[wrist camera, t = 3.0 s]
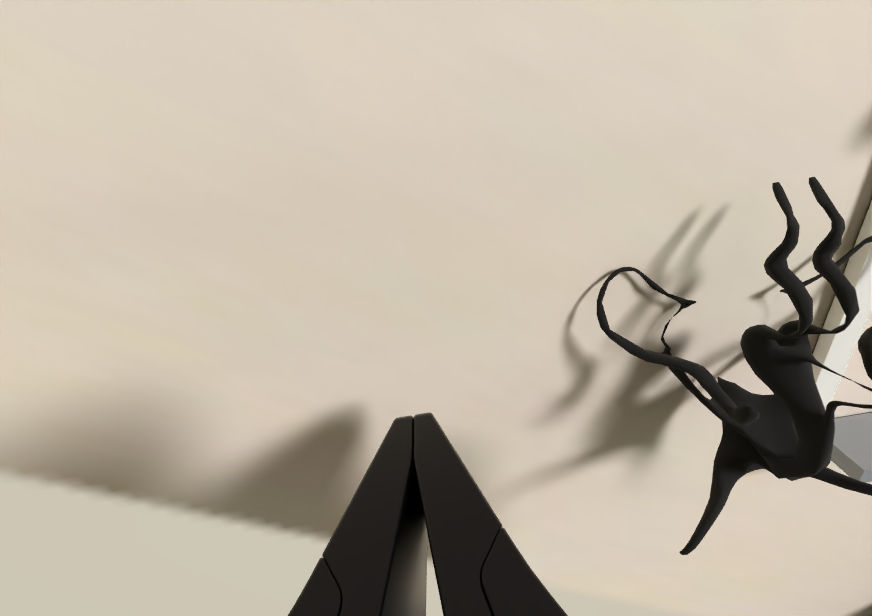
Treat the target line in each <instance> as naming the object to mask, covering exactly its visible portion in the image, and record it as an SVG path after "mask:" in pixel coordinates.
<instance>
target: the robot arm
mask: <svg viewBox="0 0 872 616" xmlns="http://www.w3.org/2000/svg"><path fill="white" fill-rule="evenodd" d="M427 533H428V538H429V543H430V548H431V554H432V559H433V564H434V569H435V574H436V579H437V584H438V589H439V595H440V600H441V605H442V610H443V615H444V616H568V615H567V614H566V613H565V612H564V611H563V609H562V608H561V607H560V606H559V604H558V603H557V602H556V601H555V599H554V598H553V597H552V596H551V595H550V593H549V592H548V591H547V589H546V588H545V587H544V585H543V584H542V583H541V581H540V580H539V579H538V578H537V576H536V575H535V574H534V572H533V571H532V570H531V568H530V567H529V565H528V564H527V562H526V561H525V559H524V558H523V556H522V555H521V553H520V552H519V550H518V549H517V548H516V546H515V545H514V543H513V541H512V540H511V538H510V537H509V535H508V533H507V532H506V530H505V529H504V528H502V524H501V523H500V521H499V519H498V518H497V516H496V515H495V513H494V511H493V510H492V508H491V507H490V505H489V504H488V502H487V500H486V499H485V497H484V496H483V494H482V492H481V491H480V489H479V488H478V486H477V484H476V483H475V481H474V480H473V478H472V476H471V475H470V473H469V472H468V470H467V468H466V467H465V465H464V464H463V462H462V460H461V459H460V457H459V456H458V454H457V452H456V451H455V449H454V448H453V446H452V444H451V443H450V441H449V440H448V438H447V436H446V435H445V433H444V432H443V430H442V429H441V427H440V425H439V424H438V422H437V421H436V419H435V417H434V416H433V414H432V413H423V414H417V415H415V416H414V418H413V417H412V416H405V417H399V418H396V419H395V420H394V421H393V423H392V425H391V427H390V429H389V431H388V433H387V435H386V436H385V438H384V440H383V442H382V444H381V446H380V448H379V450H378V451H377V453H376V455H375V457H374V459H373V461H372V463H371V464H370V466H369V468H368V470H367V472H366V474H365V476H364V478H363V479H362V481H361V483H360V485H359V487H358V489H357V491H356V493H355V494H354V496H353V498H352V500H351V502H350V504H349V506H348V507H347V509H346V511H345V513H344V515H343V517H342V519H341V521H340V522H339V524H338V526H337V528H336V530H335V532H334V534H333V536H332V537H331V539H330V541H329V543H328V545H327V547H326V549H325V551H324V552H323V558H320V560H319V561H318V563H317V565H316V567H315V569H314V571H313V573H312V575H311V576H310V578H309V580H308V582H307V584H306V585H305V587H304V589H303V591H302V593H301V594H300V596H299V598H298V600H297V601H296V603H295V605H294V606H293V608H292V610H291V611H290V613H289V614H288V616H426V575H427V571H426V570H427Z"/></svg>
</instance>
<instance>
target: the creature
mask: <svg viewBox="0 0 872 616" xmlns="http://www.w3.org/2000/svg"><path fill="white" fill-rule="evenodd" d="M809 184H810V187H811V189H812V192H813V194H814V196H815V198H816V200H817V202H818V203H819V204H820V205H821V206H822V207H823V209H824V210H825V211H826V213H827V214H828V216H829V218H830V219H831V221H832V229H831V231H830V232H829V234H828V235H827V237H826V238H825V239H824V240H823V241H822V242H821V243H820V244H819V246H818V247H817V248H816V250H815V251H814V254H813V259H812V261H813V265H814V268H815V270H816V271H817V272H819V273H820V274H819V275H817V276H816V277H813V278H811V279H809V280H807V281H804V282H802V281H801V280H800V279H799V278H798V277H797V276H796V275H795V274H794V273H793V272H792V271H791V270H790V269H789V268H788V265H787V260H786V259H787V257H788V256H789V254H790V253H791V252H792V250H793V249H794V248H795V246H796V245H797V243H798V237H799V224H798V222H797V220H796V218H795V217H794V215H793V211H792V207H791V205H790V203H789V201H788V198H787V196H786V194H785V192H784V190H783V188H782V186H781V185H780V183H779V182H776V183H773V191H774V194H775V197H776V199H777V201H778V203H779V205H780V207H781V208H782V210H783V212H784V213H785V215H786V217H787V232H786V236H785V238H784V240H783V242H782V243H781V244H780V245H779V246H778V247H777V248H776V249H775V250H774V251H773V252H772V253H771V254H770V255H769V257H768V258H767V259H766V261H765V264H764V267H765V270H766V273H767V274H768V275H769V276H770V277H771V278H772V279H773V280H774V281H775V282H777V283H778V284H779V285H780V286H781V287H783V288H784V289H783V290H781V291H780V292H784V293H787V294H788V296H789V297H790V299H791V301H792V303H793V305H794V306H795V308H796V310H797V312H798V314H799V320H796V321H790V322H788V323H786V324H784V325H782V326H781V327H780V329H779V330H778V331H775V330H774V329H772V328H770V327H768V326H766V325H756V326H752V327H750V328H748V329H747V330H745V332H744V334H743V335H742V339H741V347H742V350H743V354H744V357H745V359H746V361H747V362H748V364H749V365H750V367H751V368H752V370H753V371H754V373H755V374H756V375H757V376H758V377H759V378H760V379H761V380H762V381H763V382H764V383H765V384H766V385H767V386H768V387H769V388H770V389H771V390H772V392H773V393H774V395H759V394H753V393H750V392H748V391H746V390H745V389H743V388H741V387H740V386H738V385H737V384H735V383H732V382H728V381H726V380H724V379H722V378H719V377H718V383H717V381H716V380H715V378H714V377H713V375H712V374H711V373H710V372H709V371H708V370H706V369H705V368H704V367H703V366H701V365H699V364H696V363H693V362H690V361H687V360H684V359H681V358H678V357H674V356H672V355H671V353H670V350H671V349H670V347H669V346H668V345H667V344H666V343H665V340H664V337H663V335H664V333H665V331H666V329H667V326H668V324H669V322H670V320H671V319H670V320H669V322H668V323H667V324H666V325H665V328H664V331H663V334H662V337H661V341H662V343H663V344H664V345H665V349H664V351H663V353H662V354H661V353H656V352H651V351H646V350H644V349H642V348H640V347H638V346H637V345H635V344H633V343H632V342H630V341H628V340H627V339H625V338H623V337H622V336H620V335H618V334H617V333H615V332H613V331H612V330H610V328H609V325H608V322H607V318H606V315H605V311H604V308H603V305H602V300H603V297H604V294H605V291H606V288H607V286H608V283H609V281H610V280H612V279H613V278H614V277H615V276H616V275H617V274H619V273H620V272H624V271H635V272H637V273H638V274H640V276H641V277H642V278H643V279H644V280H645V281H646V282H647V283H648V285H649V286H650V287H651V288H652V289H654V290H656V291H658V292H660V293H662V294H664V295H666V296H668V297H670V298H672V299H674V300H676V301H678V302H679V303H680V304H681V306H680V308H679V311H678V312H677V313H676V314H678V313H679V312H680V311H681V310H682V309H683V308H686V307H689V306H690V305H692V304H694V303H696V301H692V300H686V299H683V298H680V297H677V296H674V295H671V294H668V293H667V292H666V291H664V290H663V289H662V288H661V287H659V286H658V285H657V284H656V283H654V282H653V281H652V280H651V279H649V278H648V277H647V276H646V275H644V274H643V273H642V272H640V271H639V270H638V269H636V268H632V267H622V268H619V269H617V270H616V271H614V272H613V273H612V274H611V275H610V276H609V277H608V278H607V280H606V281H605V282H604V284H603V286H602V287H601V289H600V292H599V295H598V299H597V317H598V320H599V324H600V327H601V329H602V330H603V331H604V332H605V333H606V335H607V336H608V337H609V338H610V339H611V340H613V341H614V342H615V343H617V344H618V345H620V346H621V347H622V348H624V349H625V350H626V351H628V352H629V353H630V354H632V355H634V356H636V357H638V358H640V359H642V360H644V361H646V362H651V363H656V364H661V365H665V366H668V367H669V369H670V370H671V371H672V372H673V373H674V375H675V376H676V377H677V378H678V379H679V380H680V381H681V382H682V384H683V385H684V386H685V387H686V388H687V389H688V390H689V391H690V392H691V393H693V394H694V395H695V396H696V397H697V398H698V400H699V401H700V402H701V403H703V404H704V405H705V406H706V407H707V408H708V409H709V410H710V411H711V412H712V413H714V414H715V415H716V416H717V417H718V418H719V419H721V420H722V426H723V435H722V439H721V442H720V445H719V447H718V450H717V453H716V457H715V460H714V467H713V477H712V485H711V493H710V499H709V501H708V504H707V506H706V509H705V511H704V514H703V516H702V518H701V520H700V522H699V524H698V526H697V528H696V530H695V532H694V534H693V535H692V537H691V539H690V540H689V542H688V543H687V545H686V546H685V548H684V549H683V550H682V551H680V554H682V555H687V554H689V553H690V552H691V551H693V550H694V549H695V548H696V547H697V545H698V544H699V543H700V542H701V540H702V539H703V538H704V536H705V535H706V533H707V532H708V530H709V529H710V528H711V526H712V524H713V523H714V521H715V520H716V518H717V517H718V515H719V514H720V512H721V510H722V509H723V507H724V505H725V503H726V501H727V499H728V496H729V494H730V491H731V489H732V488H733V486H734V485H735V483H736V482H737V480H738V479H739V478H741V477H742V476H743V475H745V474H746V473H749V472H751V471H754V470H758V469H767V470H768V471H769V472H771V473H772V474H774V475H775V476H776V477H777V478H779V479H780V478H787V479H789V480H791V481H793V480H797V479H800V478H805V477H812V478H816V479H819V480H822V481H824V482H827V483H830V484H833V485H836V486H839V487H842V488H845V489H848V490H852V491H856V492H860V493H864V494H867V495H871V496H872V485H871V484H868V483H865V482H862V481H859V480H856V479H853V478H851V477H848V476H845V475H843V474H840V473H838V472H835V471H833V470H831V469H829V468H827V466H828V465H829V463H830V460H831V455H832V450H833V442H834V434H835V421H834V411H835V410H836V408H837V406H841V405H844V406H853V407H860V408H872V405H862V404H853V403H847V402H841V401H831V402H829V403H828V404H827V406H826V411H825V407H824V405H823V402H822V399H821V396H820V394H819V391H818V388H817V385H816V383H815V380H814V374H813V368H812V364H814V365H816V366H819V367H821V368H823V369H825V370H828V371H830V372H832V373H834V374H837V375H839V376H842V375H840V374H839V373H837V372H835V371H833V370H831V369H829V368H828V367H826V366H824V365H823V364H821V363H820V362H819V361H817V360H816V359H815V357H814V356H813V355H812V351H811V346H810V343H809V339H808V334H838V333H840V332H842V331H844V330H845V329H846V328H847V327H848V326H849V325H850V324H851V322H852V321H853V319H854V318H855V317H856V315H857V314H858V312H859V311H860V310H859V305H858V299H857V294H856V289H855V288H854V287H853V285H852V284H851V283H850V282H849V280H848V279H847V278H846V276H845V275H844V274H843V273H842V271H841V270H840V269H839V267H838V266H840V265H841V264H843V263H844V262H845V261H847V260H848V259H849V258H850V257H851V256H852V255H853V254H854V253H856V252H857V251H858V250H859V249H860V248H861V247H862V246H863V245H865V244H867V243H870V242H872V236H870V237H868V238H866V239H864V240H863V241H861V242H860V243H859V244H858V245H857V246H855V247H854V248H853V249H852V250H851V251H849V252H848V253H847V254H846V255H844V256H843V257H842V258H841V259H840V260H838V261H837V262H836V263H834V261H833V260H832V256H833V254H834V253H835V252H836V251H837V249H838V248H839V247H840V245H841V241H842V235H843V232H844V230H845V223H844V219H843V218H842V217H841V215H840V214H839V213H838V211H837V210H836V208H835V206H834V205H833V203H832V202H831V200H830V199H829V197H828V195H827V194H826V192H825V191H824V189H823V188H822V186H821V185H820V183H819V182H818V180H817V179H816V178H815V177H811V178H809ZM822 276H823V277H824V278H825V279H826V280H827V281H828V282H829V283H830V284H831V286H832V288H833V290H834V293H835V295H836V297H837V299H838V301H839V303H840V305H841V307H842V309H843V311H844V313H845V315H846V318H845V323H844V324H843V325H841V326H839V327H837V328H835V329H833V330H831V331H830V330H826V329H823V328H819V327H817V326H815V325H812V321H813V300H812V298H811V296H810V295H809V293H808V291H807V290H806V288H805V286H806V285H808V284H810V283H812V282H813V281H815V280H817V279H819V278H820V277H822ZM676 314H675V315H676ZM675 315H674V316H675ZM858 349H859V351H860V353H861V356H862V360H863V363H864V367H865V369H866V372H867V374H868V376H869V377H870V378H871V380H872V327H870V328H868V329H867V330H866V331H865V332H864V333H863V334H862V336H861V337H860V339H859V340H858ZM685 372H686V373H689V374H690V375H691V376H693V377H694V378H695V379H696V380H697V381H698V382H699V383H700V385H701V386H702V387H703V388H704V389H705V390H706V391H707V392H708V393H709V395H710V396H711V397H712V399H711V400H710V399H708V398H706V397H704V396H703V395H702V394H701V392H700V391H699V390H698V389H697V388H696V387H695V386H694V384H693V383H692V382H691V381H690V379H689V378H688V376H687V375H686V373H685ZM842 377H844V376H842ZM844 378H846V377H844ZM846 379H848V378H846ZM849 380H850V379H849ZM851 381H852V380H851ZM855 383H857V382H855ZM857 384H859V383H857ZM859 385H860V386H862V387H863V388H866V389H868V390H870V391H872V389H871V388H869V387H866V386H864V385H861V384H859Z"/></svg>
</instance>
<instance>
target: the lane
mask: <svg viewBox="0 0 872 616" xmlns="http://www.w3.org/2000/svg"><path fill="white" fill-rule="evenodd" d="M870 236H872V202H871V204H870V207H869V210H868V212H867V215H866V217H865V220H864V223H863V225H862V228H861V230H860V233H859V235H858V238H857V241H856V243H855V246H857V245H858V244H859V243H860V242H861V241H863V240H864V239H866V238H868V237H870ZM855 246H854V247H855ZM844 275H845V276H846V278H847V279H848V280H849V282H850V283H851V284H852V285H853V287H854V288H855V289H856V294H857V299H858V305H859V310H860V311H859V312H858V314H857V315H856V317H855V318H854V319H853V321H852V322H851V324H850V325H849V326H848V327H847V328H846V329H845V330H844V331H842V332H840V333H838V334H820V337H819V339H818V342H817V345H816V347H815V350H814V352H813V356H814V357H815V359H816V360H817V361H819V362H820V363H821V364H823V365H824V366H826V367H828V368H829V369H831V370H833V371H835V372H837V373H839V374H840V375H842V376H843V374H844V372H845V369H846V367H847V365H848V363H849V360H850V358H851V356H852V354H853V351H854V349H855V347H856V345H857V342H858V340H859V338H860V336H861V333H862V331H863V329H864V327H865V324H866V322H867V320H868V318H869V315H870V313H871V311H872V242H870V243H867V244H865V245H863V246H862V247H861V248H860V249H859V250H858V251H857V252H856V253H854V254H853V255H852V256H851V257H850V259H849V261H848V264H847V267H846V269H845V272H844ZM845 318H846V315H845V313H844V311H843V309H842V307H841V305H840V303H839V301H838V299H837V297H836V295H835V298H834V300H833V303H832V306H831V308H830V311H829V313H828V316H827V319H826V321H825V324H824V326H823V329H826V330H830V331H831V330H833V329H835V328H837V327H839V326H841V325H843V324H844V323H845ZM812 368H813V374H814V380H815V383H816V385H817V388H818V391H819V394H820V396H821V399H822V402H823V405H824V407H825V411H826V406H827V404H828V403H829V402H831V401H832V399H833V396H834V394H835V392H836V390H837V387H838V385H839V383H840V381H841V378H842V376H839V375H837V374H834V373H832V372H830V371H828V370H825V369H823V368H821V367H819V366H816V365H814V364H812ZM834 421H835V434H834V442H833V450H832V455H831V461H833V462H834V463H835V464H836V465H837V466H838V467H839V468H841V469H842V470H843V471H844V472H845V473H846V474H847V475H848V476H850V477H851V478H853V479H856V480H859V481H862V482H870V481H872V412H871V413H865V414H859V415H852V416H846V417H840V418H834Z"/></svg>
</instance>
